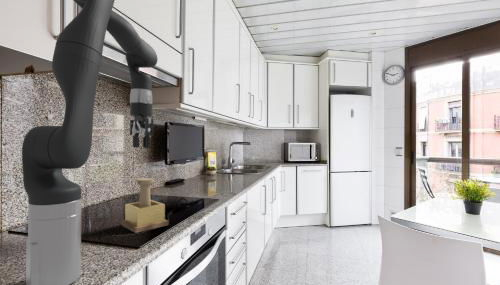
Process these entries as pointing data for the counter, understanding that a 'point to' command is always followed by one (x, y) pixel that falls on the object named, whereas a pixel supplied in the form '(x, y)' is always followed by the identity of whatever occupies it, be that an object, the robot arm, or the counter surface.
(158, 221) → the sleeve block
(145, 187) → the handle
